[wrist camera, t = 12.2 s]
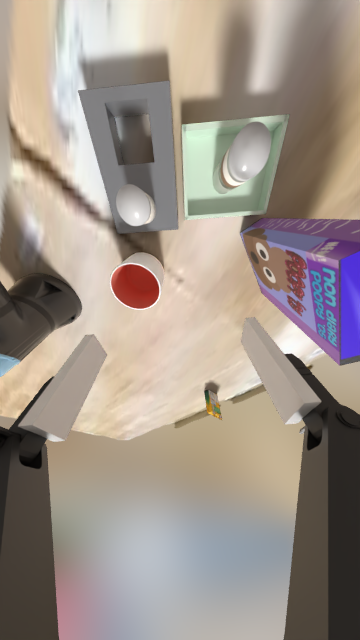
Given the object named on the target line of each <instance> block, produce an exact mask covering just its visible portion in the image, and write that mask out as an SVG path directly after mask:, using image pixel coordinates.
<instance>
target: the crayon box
mask: <svg viewBox="0 0 360 640" xmlns="http://www.w3.org/2000/svg"><path fill="white" fill-rule="evenodd" d="M205 400H206V407H207V413H209V414H211V415H213V416H214V417H216V418H219V419H221V420H222V417H221V412H220V407H219V402H218V397H217V394H215V393H213V392H212V391H210V390H207V391H205ZM218 416H219V417H218Z"/></svg>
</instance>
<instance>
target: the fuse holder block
mask: <svg viewBox="0 0 360 640" xmlns="http://www.w3.org/2000/svg"><path fill="white" fill-rule="evenodd" d="M78 93H79V96H80V100H81V103H82V107H83V111H84V114H85V118H86V121H87V125H88V129H89V132H90V136H91V139H92V143H93V147H94V150H95V154H96V157H97V161H98V165H99V168H100V172H101V175H102V179H103V183H104V186H105V190H106V193H107V197H108V201H109V204H110V208H111V211H112V215H113V219H114V222H115V226H116V229H117V233H118V234H121V233H135V232H149V231H162V230H176V229H178V216H177V198H176V181H175V163H174V146H173V128H172V111H171V95H170V81H162V82H152V83H143V84H134V85H125V86H115V87H106V88H97V89H88V90H79V91H78ZM143 114H149V119H150V127H151V136H152V145H153V154H154V162H152V163H141V164H130V165H124V163H123V158H122V153H121V148H120V143H119V139H118V134H117V129H116V124H115V119H114V117H124V116H133V115H143Z"/></svg>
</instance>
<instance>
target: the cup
mask: <svg viewBox="0 0 360 640" xmlns="http://www.w3.org/2000/svg"><path fill="white" fill-rule="evenodd" d="M164 278H165V273H164V269H163V266H162V264H161V263H160V261H159V260H158V259H157V258H156V257H154V256H153V255H151V254H148V253H144V252H139V253H135V254H133V255H131V256H130V257H128V258H127V259H126V260H125V261H123V262H122V263H121V264H119V265H118V266H117V267H116V268H115V269H114V270H113V272H112V273H111V276H110V287H111V290H112V292H113V294H114V296H115V297H116V298H117V300H118V301H119V302H121V303H122V304H123V305H125V306H127V307H129V308H132V309H137V310H143V309H148V308H150V307H152V306H153V305H155V304H156V303H157V301H158V300H159V298H160V295H161V291H162V287H163V283H164Z"/></svg>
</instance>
